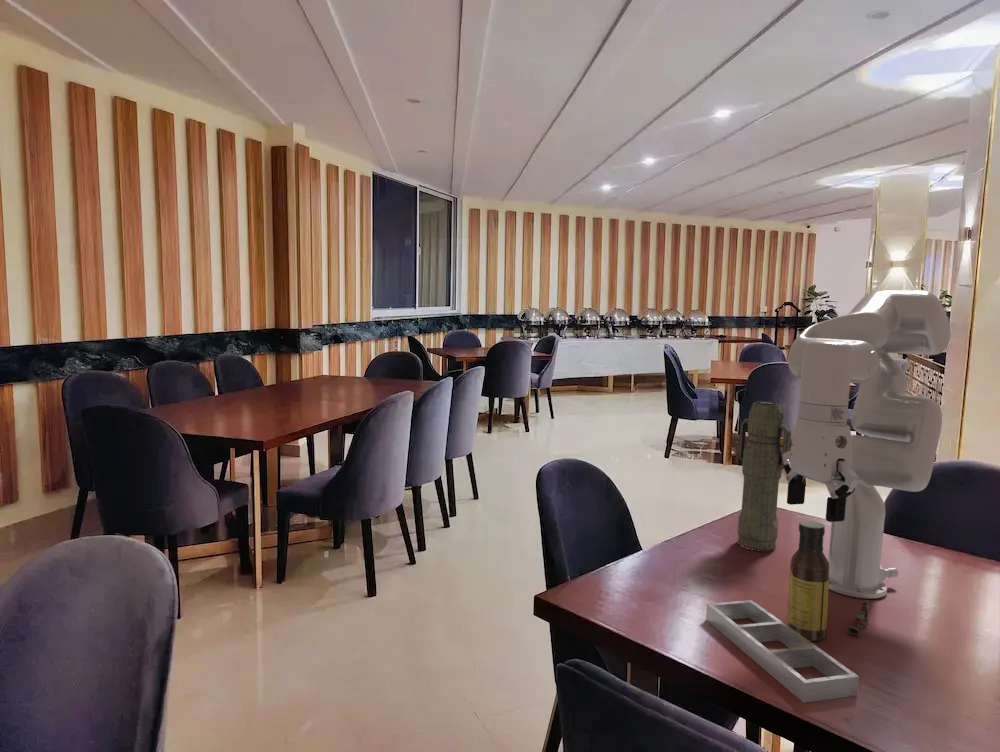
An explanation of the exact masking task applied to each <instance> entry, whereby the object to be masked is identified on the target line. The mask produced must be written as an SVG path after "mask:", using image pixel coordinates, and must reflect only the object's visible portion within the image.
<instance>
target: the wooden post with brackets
mask: <svg viewBox="0 0 1000 752" xmlns="http://www.w3.org/2000/svg"><path fill="white" fill-rule="evenodd" d="M869 607H870V601H869V600H868V599H866V600H863V602H862V603H861V605H860V610H858V611H857V613H856V616H855V620H854V621H853V623H852V624H851V626H850V625H848V626H847V634H848V635H852V636H856V637H858V638H860V629H863V628H865V627H866V626H867V624H868V623H867V622H869V617H870V616H869V611H868V609H869Z"/></svg>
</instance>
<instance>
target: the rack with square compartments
mask: <svg viewBox="0 0 1000 752" xmlns="http://www.w3.org/2000/svg"><path fill="white" fill-rule="evenodd" d="M739 619H740V620H741V619H750V620H751V621H753V622H754V623H747V624H738V623H736V622H735V621H734V620H739ZM705 620H706V621H707V622H708V623H709V624H710V625H712V626H713V627H714V628H715V629H716V630H717V631H719V632H720V633H721V635H723V636H725V637H726V638H727V639H728V640H729V641H730V642H731V643H733V644H734V645H735V646H736V647H737V648H738V649H740V650H741V651H742V652H743V653H744V654H746V656H748V657H749V658H750V659H752V661H754V662H755V663H756V664H757V665H758V666H760V668H762V669H763V670H764V671H765V672H767V674H769V675H770V676H771V677H773V678H774V679H775V680H776V681H777V682H778V683H780V684H781V685H782V686H783V687H784V688H785V689H787V690H788V691H789V692H790V693H791V694H792V695H794V696H795V697H796V698H797V699H798V700H799V701H800V702H802V703H803V704H805V703H813V702H820V701H829V700H835V699H836V698H837V699H844V698H850V697H858V690H859V689H858V688H859V681H860V676H859V675H858V674H856V673H855V672H854V671H852V670H850V669H849V668H848V667H846V666H845V665H844V664H842V663H841V662H839V661H838V660H837V659H835V658H834V657H832V656H831V655H829V654H828V653H826V652H825V651H824V650H822V649H821V648H820V647H818V646H817V645H816V644H814V643H813V642H812V641H808V640H807V639H806V638H804V637H803V636H801V635H800V634H799V633H797V632H796V631H794V630H793V629H792V628H790V627H789V626H788V624H786V623H785V622H783V621H782V620H781V619H779V618H777V617H776V616H775V615H773V614H772V613H771V612H769V611H768V610H766V609H765V608H764V607H762V606H761V605H760V604H758V603H757V602H755V601H754V600H752V599H749V600H748V599H747V600H736V601H726V602H725V601H723V602H715V603H714V602H713V603H711V602H710V603H707V604H706V614H705ZM775 641H776V642H777V641H779V642H780V643H782V644H783V645H784V646H785V648H777V649H769V648H767V647H766V646H765V645H763V644H762V643H766V642H775ZM786 647H787V648H786ZM809 667H814V668H815V669H816V670H817V671H819V672H820V673H821V674H822V675H823V677H817V678H816V677H815V678H807V679H806V678H805V677H804V676H802V675H801V674H800V673H799V672H797V671H796V670H795V669H800V668H809Z"/></svg>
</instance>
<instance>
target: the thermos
mask: <svg viewBox="0 0 1000 752" xmlns="http://www.w3.org/2000/svg"><path fill="white" fill-rule="evenodd" d="M783 420H784V414H783V411H782V406H781V404H778V402H775V401H768V400H764V401H763V400H757V401H756V402H752V404H751V407H750V410H749V412H748V418H745V419H743V420H742V421H741V423H740V424H739V436H738V437H739V439H738V449H737V450H738V453H737V454H738V461H740V462H741V464H742V469H741V470H742V472H741V473H742V475H743V485H742V486H743V487H742V500H741V512H740V514H739V516H738V524H737V535H738V536H737V537H738V538H737V544H738V543H739V544H740V545H742V546H744V547H746V548H749V549H753V550H759V551H770V552H772V551H771V550H774V549H775V548H776V546H777V544H776V541H777V539H778V529H779V519H778V516H777V511H778V509H777V508H778V498H779V496H778V495H779V485H780V484H779V482H780V479H781V478H782V473H783V470H784V462H783V457H782V455H783V453H786V452H788V451H790V449H791V448H790V447H791V439H792V438H791V437H792V431H791V428H790V427H789V425H787V424H784V421H783ZM746 426H747V434H748V435H747V439H745V438H746V437H745V436H746ZM782 432H783V433H782ZM782 434H783V435H782ZM782 436H783V440H782V441H783V442H782V441H781V437H782ZM745 440H746V444H745ZM782 444H783V445H782ZM775 550H776V549H775ZM775 550H774V551H775Z"/></svg>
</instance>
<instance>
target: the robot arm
mask: <svg viewBox="0 0 1000 752" xmlns="http://www.w3.org/2000/svg"><path fill="white" fill-rule="evenodd" d="M951 333H952V332H951V326H950V321H949V319H948V315H947V314H946V311H945V308H944V306H943V304H942V302H941V300H940V299H939V298H938V297H937V296H936V295H935V294H933V293H932V292H931V291H926V290H878V291H872V292H870V293H867V294H866V295H865V296H863V297H862V298H861V299H860V300H859V301H858V303H857V304H856V305H855V306H854V307H853V308H852V309H851V311H849V312H848V313H847V314H843V315H839V316H836V317H833V318H831V319H827V320H823V321H819V322H817V323H814V324H812V325H809V326H808V327H806V328H805V329H804V330H803V331H801V333H800V334H799V335H798V336H797V337H796V338H795V339H794V341H793V343H792V344H791V346H790V348H789V351H788V353H787V354H788V355H787V365H788V369H789V370H790V372H791V373H792V374H793V375H794V376H795V377H798V378H800V384H799V385H800V386H799V398H798V410H797V418H796V422H795V426H794V429H793V435H792V438H791V439H792V440H791V444H790V447H791V448H790V449H789V451H788V452H786V453H783V455H782V457H783V462H784V469H783V470H784V472H785V474H786V476H785V479H786V481H787V482H788V484H787V493H786V494H787V496H786V504H788V505H791V506H793V505H803V504H805V499H806V498H805V497H806V496H805V495H806V486H807V485H806V481H804V480H805V478H806V479H809V480H811V481H814V482H817V483H820V484H823V485H825V486H826V488H827V491H828V493H829V495H830V496H829V497H827V499H826V508H825V509H826V510H825V521H827V522H829V523H830V535H829V548H828V556H827V557H828V559H827V561H828V562H829V590H830V591H832V592H835V593H837V594H840V595H844V596H847V597H851V598H852V597H853V598H859V599H866V600H868V599H871V600H873V599H874V600H875V599H880V598H884V597H885V596H886V595H887V594H888V587H887V585H886V584H885V583H884V580H886V579H889V578H890V579H891V578H898V576H899V570H898V569H897V568H896V567H888V568H884V567H883V566H882V565H881V562H882V549H883V542H884V541H883V540H884V529H885V528H884V527H885V518H886V506H885V501H884V500H883V498H882V496H881V495H880V493H879V492H878V490H877V488H876V487H884V488H888V489H894V490H900V491H905V492H912V493H913V492H914V493H915V492H921V491H924V490H925V489H926V488H927V486H928V485H929V482H930V480H931V477H932V474H933V473H932V472H933V469H934V464H935V459H936V455H937V450H938V447H939V441H940V438H941V434H942V433H941V432H942V425H943V413H942V409H941V405H940V404H939V402H937V401H936V400H934V399H932V398H930V397H925V396H920V395H910V394H906V391H907V387H908V383H909V380H908V376H907V374H906V372H905V371H904V369H903V368H902V367H901V365H900V364H899V363H898V362H897V361H896V360H895V359H893V357H892V356H891V355H890V354H903V355H904V354H905V355H922V356H935V355H939V354H940V355H941V354H942V353H944V352H945V350H947V348H948V346H949V343H950V341H951ZM889 353H890V354H889ZM851 384H859V388H858V391H857V394H856V397H855V402H854V405H853V409H852V413H851V425H852V428H853V430H854V431H855V432H857V433H858V434H852V432H851V428H850V425H848V424H847V423H848V419H849V416H850V415H849V399H850V392H851V391H850V390H851ZM859 434H860V435H859Z"/></svg>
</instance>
